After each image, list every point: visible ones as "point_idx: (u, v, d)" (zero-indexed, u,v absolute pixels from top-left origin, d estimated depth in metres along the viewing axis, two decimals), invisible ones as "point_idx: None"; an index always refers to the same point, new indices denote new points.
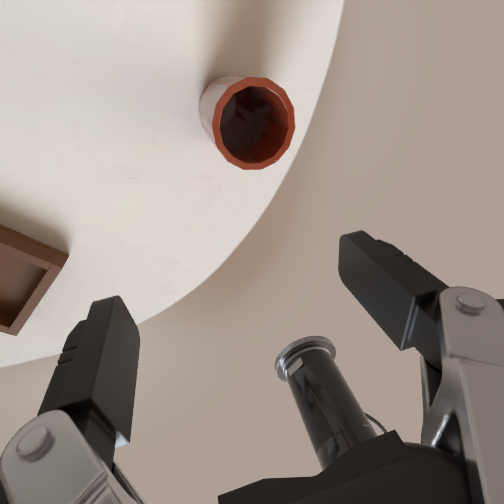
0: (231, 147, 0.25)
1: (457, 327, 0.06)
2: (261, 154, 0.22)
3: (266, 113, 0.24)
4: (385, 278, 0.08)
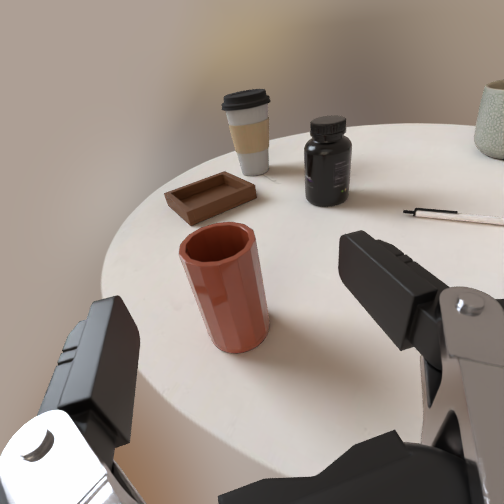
0: None
1: (457, 327, 0.06)
2: None
3: None
4: (385, 278, 0.08)
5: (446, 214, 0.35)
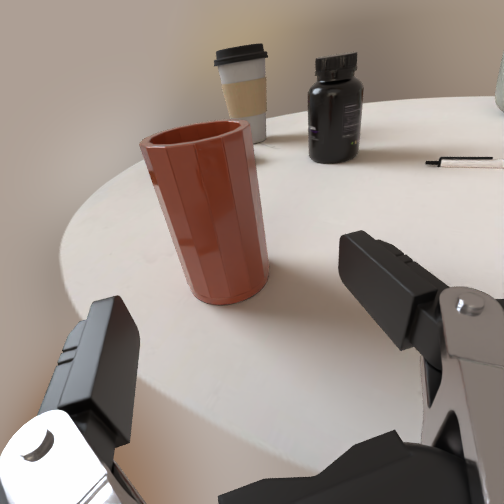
0: None
1: (457, 327, 0.06)
2: None
3: None
4: (385, 278, 0.08)
5: (478, 160, 0.30)
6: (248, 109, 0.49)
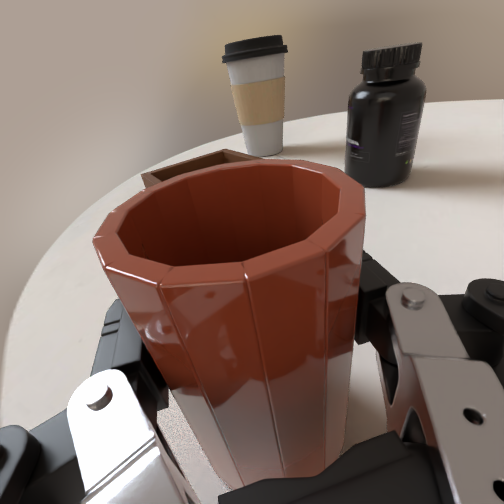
0: None
1: (405, 323, 0.06)
2: None
3: None
4: None
5: None
6: (263, 115, 0.41)
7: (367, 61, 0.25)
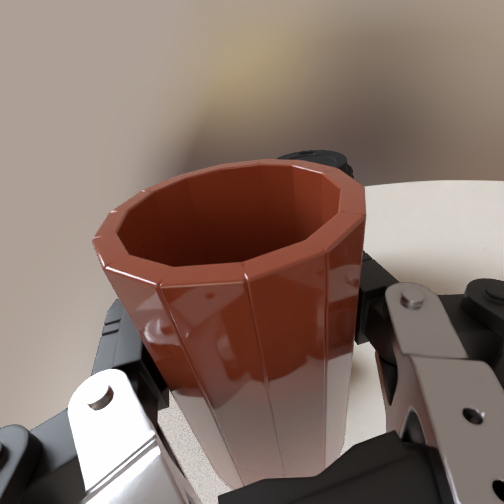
0: None
1: (405, 323, 0.06)
2: None
3: None
4: None
5: None
6: None
7: None
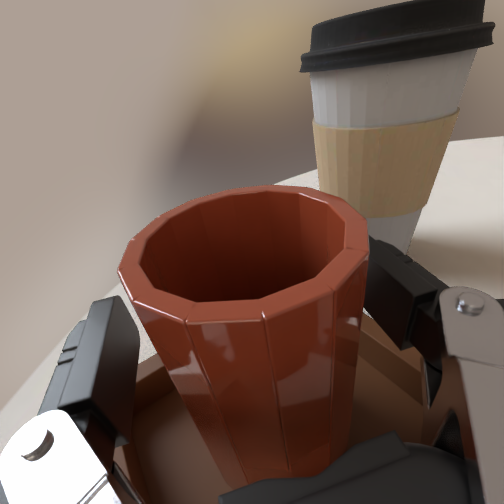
0: None
1: (457, 327, 0.06)
2: None
3: None
4: (385, 278, 0.08)
5: None
6: (399, 200, 0.16)
7: None
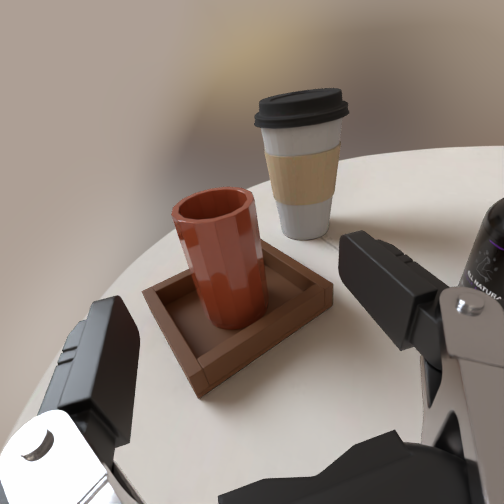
0: None
1: (457, 327, 0.06)
2: None
3: None
4: (385, 278, 0.08)
5: None
6: (310, 194, 0.29)
7: None
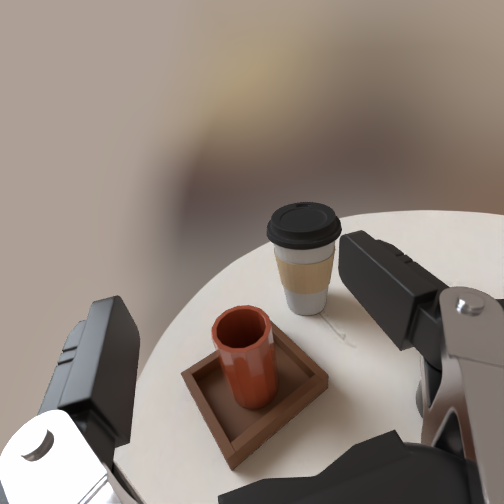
0: None
1: (457, 327, 0.06)
2: None
3: None
4: (385, 278, 0.08)
5: None
6: (311, 288, 0.37)
7: None
